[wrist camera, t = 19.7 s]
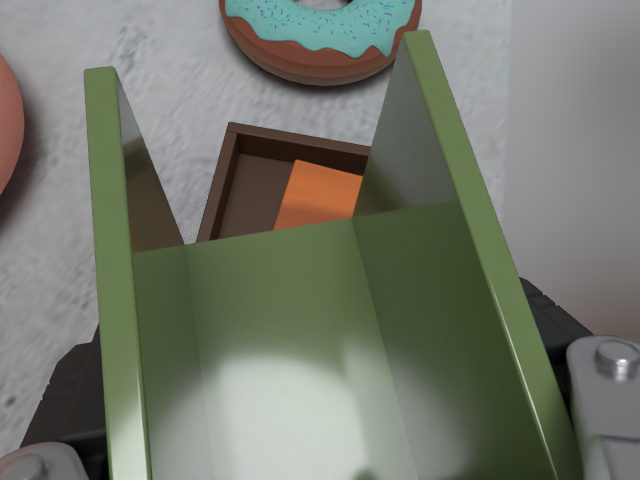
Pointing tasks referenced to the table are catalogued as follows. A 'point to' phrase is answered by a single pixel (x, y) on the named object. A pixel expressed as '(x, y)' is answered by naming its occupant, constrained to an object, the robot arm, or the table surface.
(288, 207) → the block
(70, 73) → the table surface
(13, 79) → the teapot
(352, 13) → the donut
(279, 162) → the tray
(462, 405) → the green storage bin
